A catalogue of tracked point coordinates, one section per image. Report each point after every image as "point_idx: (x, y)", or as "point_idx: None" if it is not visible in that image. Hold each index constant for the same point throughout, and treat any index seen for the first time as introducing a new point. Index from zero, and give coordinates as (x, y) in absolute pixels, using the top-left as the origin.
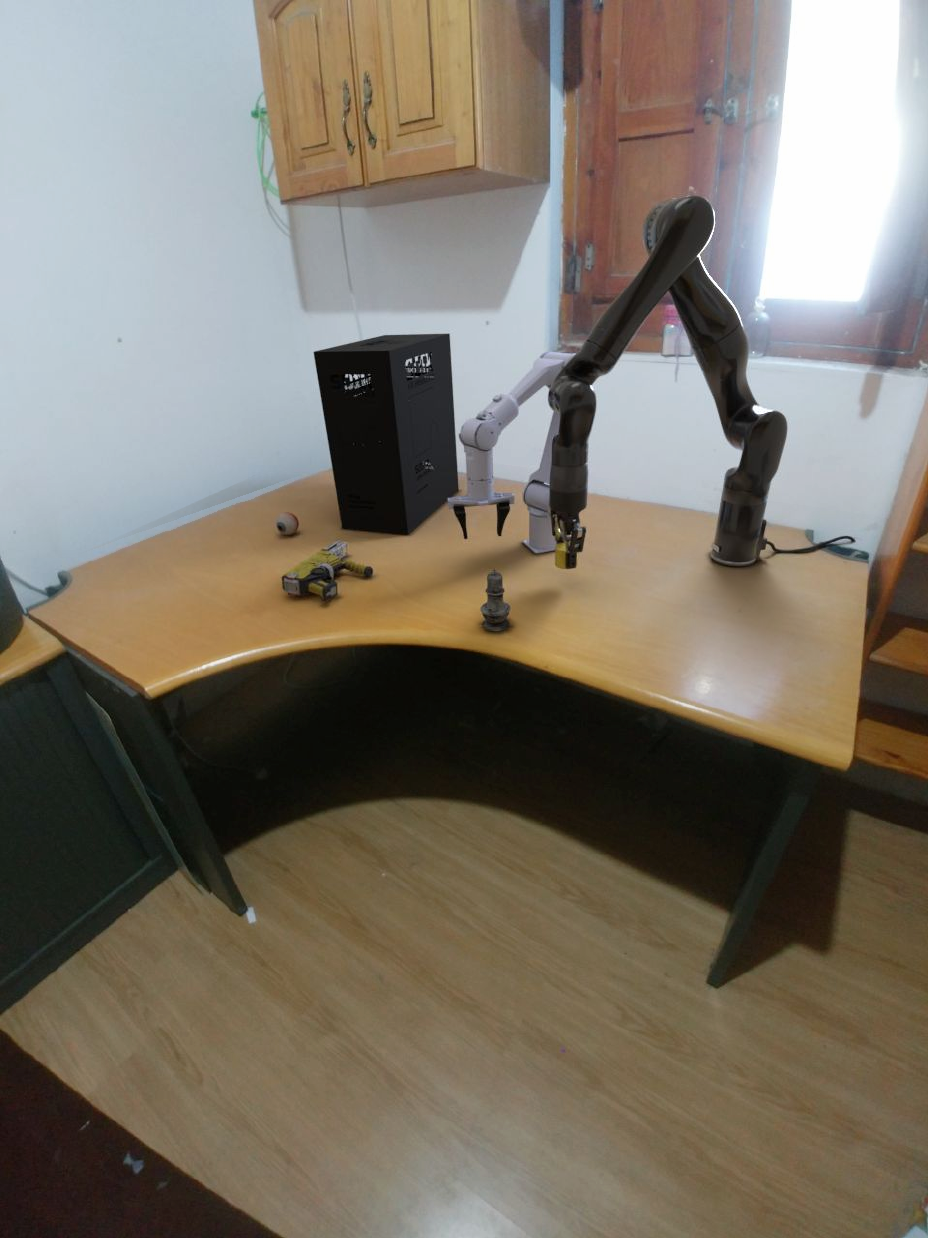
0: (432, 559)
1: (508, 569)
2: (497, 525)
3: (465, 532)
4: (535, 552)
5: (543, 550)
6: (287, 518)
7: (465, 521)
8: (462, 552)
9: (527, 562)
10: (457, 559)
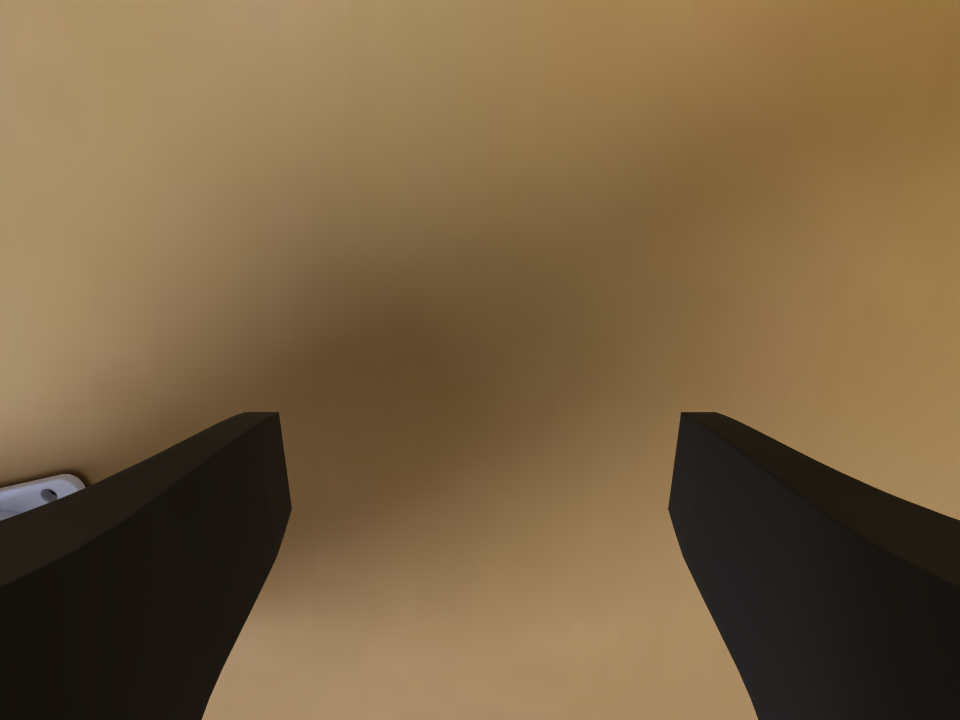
0: None
1: (290, 267)
2: (246, 565)
3: (749, 439)
4: (75, 482)
5: (13, 496)
6: None
7: (864, 531)
8: (590, 588)
9: (140, 358)
10: (643, 498)
